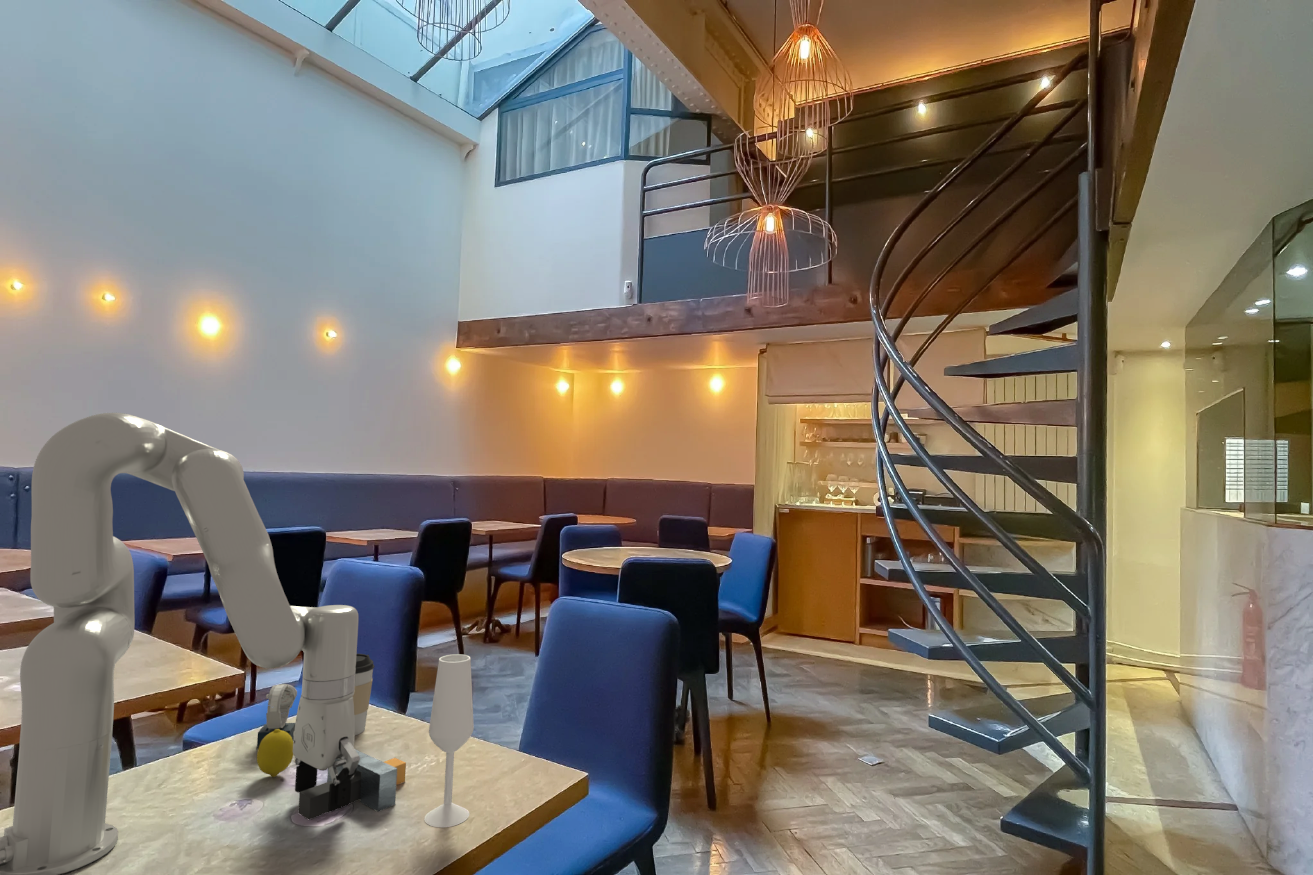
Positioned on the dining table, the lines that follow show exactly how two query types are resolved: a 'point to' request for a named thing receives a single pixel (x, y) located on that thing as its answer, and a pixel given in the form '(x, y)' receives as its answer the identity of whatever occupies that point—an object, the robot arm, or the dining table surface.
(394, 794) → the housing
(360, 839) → the dining table surface
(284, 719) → the watch
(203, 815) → the dining table surface
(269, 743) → the lemon
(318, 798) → the plug
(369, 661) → the coffee cup
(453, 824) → the champagne flute
